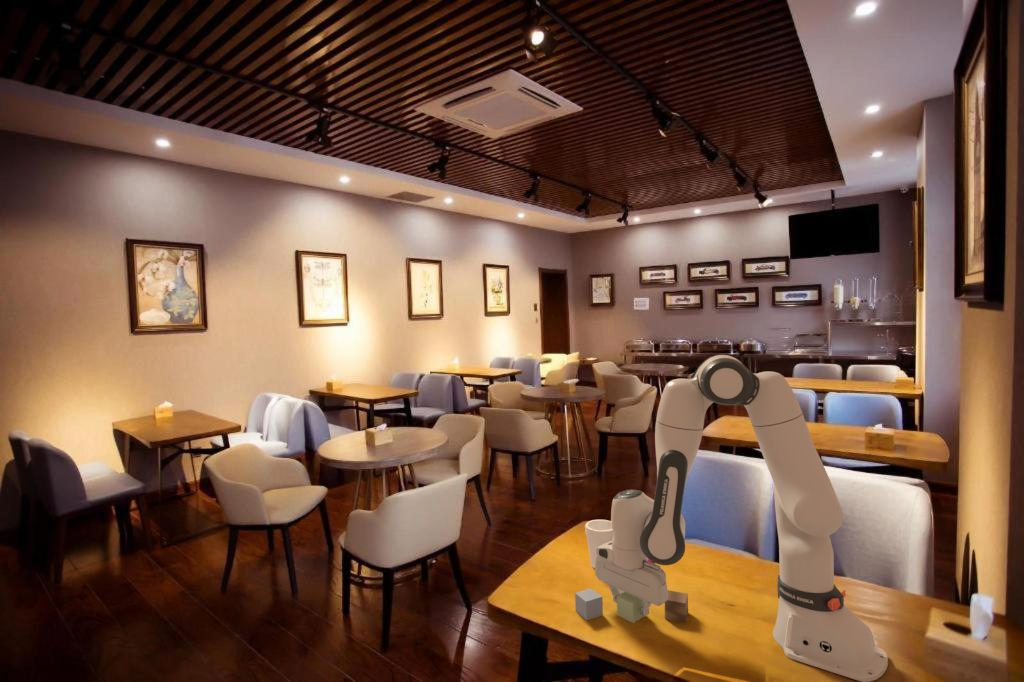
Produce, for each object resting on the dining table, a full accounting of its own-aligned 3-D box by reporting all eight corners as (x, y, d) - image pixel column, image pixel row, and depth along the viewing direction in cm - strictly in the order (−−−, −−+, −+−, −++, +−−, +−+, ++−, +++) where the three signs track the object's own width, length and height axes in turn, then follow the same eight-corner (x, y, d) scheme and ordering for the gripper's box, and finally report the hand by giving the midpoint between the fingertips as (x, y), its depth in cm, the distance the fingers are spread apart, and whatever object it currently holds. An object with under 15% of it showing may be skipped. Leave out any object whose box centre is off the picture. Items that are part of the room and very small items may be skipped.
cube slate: (602, 615, 138) (602, 596, 138) (586, 621, 136) (585, 601, 136) (591, 606, 142) (591, 588, 142) (575, 611, 140) (575, 592, 140)
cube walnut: (688, 612, 138) (687, 593, 138) (685, 623, 133) (685, 603, 133) (667, 609, 140) (667, 590, 140) (665, 619, 135) (664, 599, 135)
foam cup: (594, 576, 159) (592, 533, 158) (581, 563, 168) (580, 522, 167) (623, 571, 161) (622, 528, 161) (609, 558, 170) (608, 518, 170)
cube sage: (645, 615, 137) (644, 596, 137) (633, 623, 134) (632, 603, 134) (629, 608, 141) (628, 589, 141) (617, 615, 138) (616, 596, 138)
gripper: (672, 563, 131) (673, 619, 132) (606, 539, 147) (607, 589, 147) (657, 572, 127) (658, 630, 128) (590, 546, 143) (592, 598, 143)
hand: (630, 608), depth 138 cm, fingers open, 7 cm apart
